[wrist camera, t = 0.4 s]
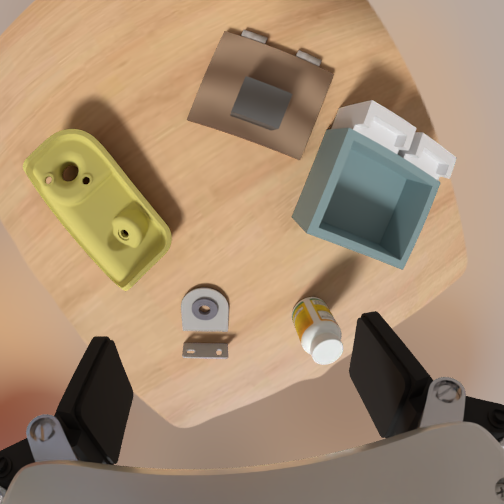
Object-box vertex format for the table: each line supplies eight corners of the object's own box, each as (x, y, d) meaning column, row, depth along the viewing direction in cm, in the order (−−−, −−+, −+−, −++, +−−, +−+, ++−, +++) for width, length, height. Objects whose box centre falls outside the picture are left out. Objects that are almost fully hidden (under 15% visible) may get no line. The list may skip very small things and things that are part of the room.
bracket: (229, 285, 41) (229, 297, 37) (227, 344, 44) (228, 358, 41) (180, 284, 40) (177, 296, 37) (184, 343, 43) (182, 357, 40)
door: (297, 159, 35) (311, 163, 30) (188, 120, 32) (181, 116, 27) (333, 68, 31) (353, 57, 26) (228, 26, 28) (229, 6, 23)
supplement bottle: (322, 290, 42) (346, 328, 33) (328, 319, 44) (351, 359, 35) (286, 303, 42) (303, 344, 33) (295, 331, 44) (311, 374, 35)
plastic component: (179, 240, 35) (120, 298, 32) (166, 236, 41) (116, 284, 39) (78, 112, 27) (13, 171, 24) (81, 129, 33) (27, 178, 31)
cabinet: (378, 250, 41) (411, 276, 32) (291, 217, 38) (311, 239, 29) (417, 153, 36) (459, 159, 28) (335, 106, 33) (368, 97, 25)
